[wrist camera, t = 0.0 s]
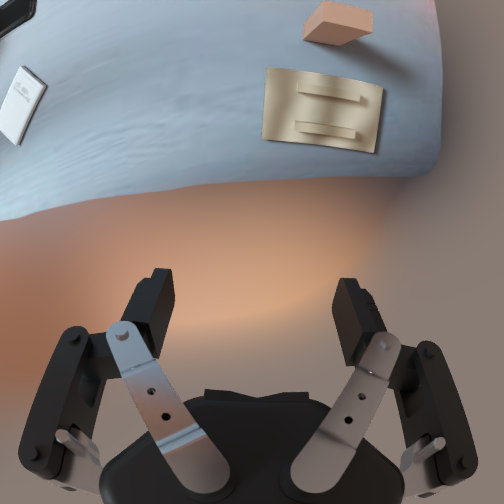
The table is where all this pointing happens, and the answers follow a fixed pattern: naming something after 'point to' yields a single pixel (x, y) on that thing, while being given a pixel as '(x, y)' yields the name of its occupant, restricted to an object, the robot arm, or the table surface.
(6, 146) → the table surface
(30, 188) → the table surface
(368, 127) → the plate
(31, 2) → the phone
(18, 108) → the external hard drive
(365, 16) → the block
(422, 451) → the robot arm
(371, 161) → the table surface
